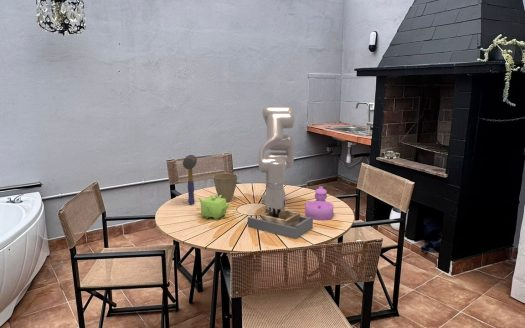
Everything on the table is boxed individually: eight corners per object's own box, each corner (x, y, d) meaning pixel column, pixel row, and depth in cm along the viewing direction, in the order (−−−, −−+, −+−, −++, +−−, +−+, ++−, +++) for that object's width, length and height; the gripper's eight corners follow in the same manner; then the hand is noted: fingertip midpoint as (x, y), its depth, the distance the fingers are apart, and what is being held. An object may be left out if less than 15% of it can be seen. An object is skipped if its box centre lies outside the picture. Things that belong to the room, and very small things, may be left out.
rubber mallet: (186, 201, 235) (184, 153, 229) (198, 201, 235) (197, 153, 229) (183, 207, 223) (181, 157, 217) (196, 207, 223) (194, 157, 217)
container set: (332, 221, 200) (333, 197, 197) (304, 219, 203) (304, 195, 200) (333, 207, 224) (334, 185, 221) (307, 205, 227) (308, 184, 224)
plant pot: (209, 200, 237) (208, 175, 234) (228, 195, 247) (227, 172, 244) (223, 205, 227) (222, 179, 223) (242, 200, 236) (242, 176, 233)
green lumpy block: (197, 214, 210) (196, 195, 208) (221, 211, 216) (220, 192, 214) (205, 222, 197) (205, 202, 195) (230, 218, 203) (230, 198, 201)
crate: (261, 226, 188) (261, 215, 187) (276, 218, 200) (276, 208, 198) (285, 232, 181) (286, 220, 179) (299, 224, 192) (300, 213, 191)
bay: (247, 226, 191) (247, 215, 190) (266, 217, 205) (266, 207, 204) (295, 238, 176) (296, 226, 175) (312, 228, 190) (312, 216, 189)
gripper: (259, 185, 189) (259, 219, 193) (284, 189, 181) (284, 225, 184) (267, 182, 195) (267, 215, 199) (292, 186, 187) (291, 221, 191)
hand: (275, 220), depth 192 cm, fingers closed
